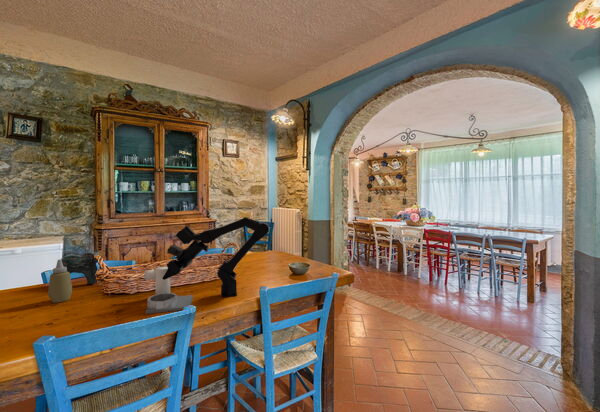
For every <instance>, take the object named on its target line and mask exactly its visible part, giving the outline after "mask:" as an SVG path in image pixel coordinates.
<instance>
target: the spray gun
mask: <svg viewBox="0 0 600 412" xmlns="http://www.w3.org/2000/svg"><path fill="white" fill-rule="evenodd" d="M82 247H83V248H84V249H85V251H84V253H83V254H81V253H76V252H67V253H65V254H63V255H62V257H61V258H60V259H61V260H62V263H63V266H64V267H67V272H69V273H70V275H71V274H73V273H75V274H82V275H84V277H85V278H86V285H87V284H95V283H97V280H96V276H95V273H96V271H97V270H98V266H97V264H98V263H99V262H98V260H97V259H95V258H94V255H100V256H101V257H102V255H101V253H100V252H99V250H98V249H95V250H93V251H89V250H87V248H86V246H84V245H80V246H79V247H78V249H80V248H82ZM72 254H73V255H72ZM97 284H98V283H97ZM95 285H96V284H95Z"/></svg>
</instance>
